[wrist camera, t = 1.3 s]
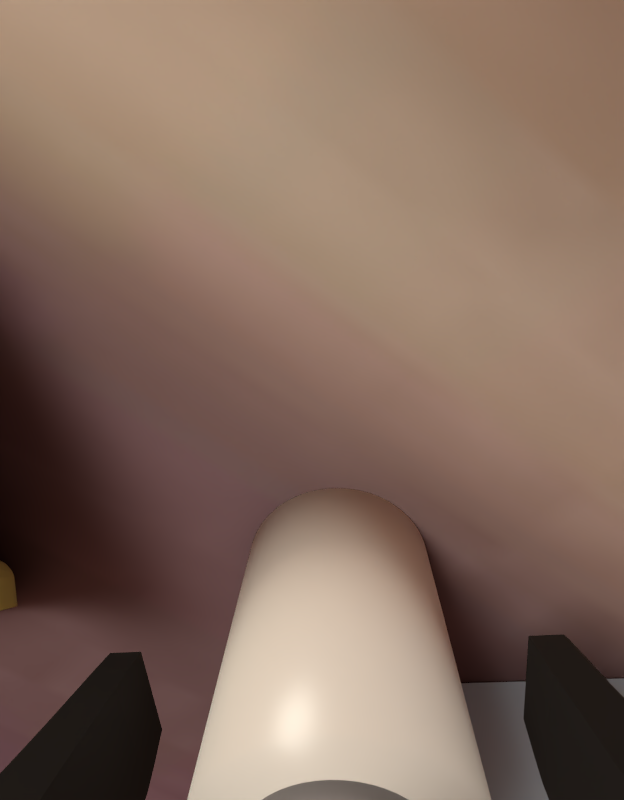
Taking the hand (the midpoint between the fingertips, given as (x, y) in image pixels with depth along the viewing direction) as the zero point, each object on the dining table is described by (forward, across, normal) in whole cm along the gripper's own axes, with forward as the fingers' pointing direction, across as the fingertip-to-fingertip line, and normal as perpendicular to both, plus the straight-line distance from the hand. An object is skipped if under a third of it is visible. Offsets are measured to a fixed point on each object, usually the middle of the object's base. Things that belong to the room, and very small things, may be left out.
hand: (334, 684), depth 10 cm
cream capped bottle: (+3, 0, 0) cm, 3 cm away
